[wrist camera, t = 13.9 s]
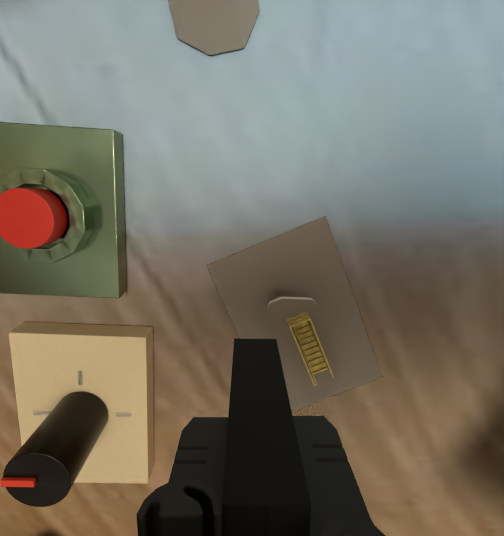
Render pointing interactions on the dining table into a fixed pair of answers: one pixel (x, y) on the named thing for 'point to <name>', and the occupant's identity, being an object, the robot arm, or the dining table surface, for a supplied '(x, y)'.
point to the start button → (31, 217)
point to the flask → (214, 23)
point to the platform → (300, 311)
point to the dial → (56, 451)
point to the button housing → (68, 210)
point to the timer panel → (91, 389)
